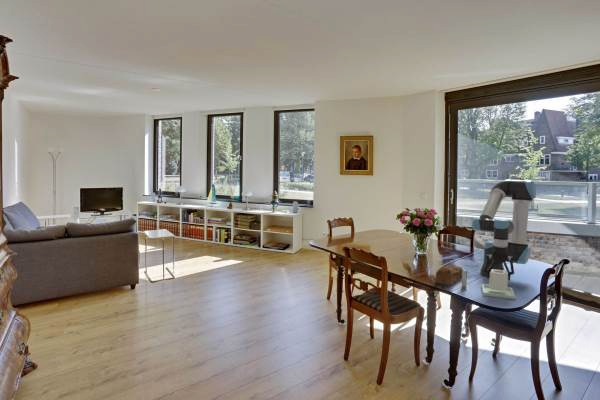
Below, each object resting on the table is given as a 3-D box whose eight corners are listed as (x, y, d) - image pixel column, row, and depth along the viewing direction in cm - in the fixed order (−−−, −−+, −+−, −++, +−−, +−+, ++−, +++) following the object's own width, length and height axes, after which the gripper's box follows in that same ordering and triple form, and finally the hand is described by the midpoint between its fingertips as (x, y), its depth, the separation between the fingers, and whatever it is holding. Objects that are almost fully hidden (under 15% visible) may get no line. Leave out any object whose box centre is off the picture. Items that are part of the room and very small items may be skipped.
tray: (481, 287, 231) (481, 284, 230) (511, 290, 224) (511, 287, 224) (483, 295, 216) (483, 292, 216) (515, 299, 210) (515, 296, 210)
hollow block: (489, 285, 225) (490, 269, 224) (504, 287, 222) (505, 270, 221) (490, 289, 218) (491, 272, 217) (506, 291, 215) (507, 274, 214)
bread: (451, 286, 232) (452, 270, 231) (434, 282, 239) (435, 267, 238) (463, 280, 245) (463, 265, 244) (446, 276, 253) (447, 261, 252)
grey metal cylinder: (460, 287, 230) (461, 269, 228) (467, 288, 228) (468, 270, 227) (460, 289, 226) (461, 270, 225) (467, 290, 225) (468, 271, 224)
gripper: (480, 245, 218) (478, 284, 220) (522, 249, 210) (519, 289, 212) (480, 243, 225) (478, 280, 227) (520, 246, 217) (517, 285, 219)
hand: (498, 284), depth 220 cm, fingers closed on hollow block, 8 cm apart
